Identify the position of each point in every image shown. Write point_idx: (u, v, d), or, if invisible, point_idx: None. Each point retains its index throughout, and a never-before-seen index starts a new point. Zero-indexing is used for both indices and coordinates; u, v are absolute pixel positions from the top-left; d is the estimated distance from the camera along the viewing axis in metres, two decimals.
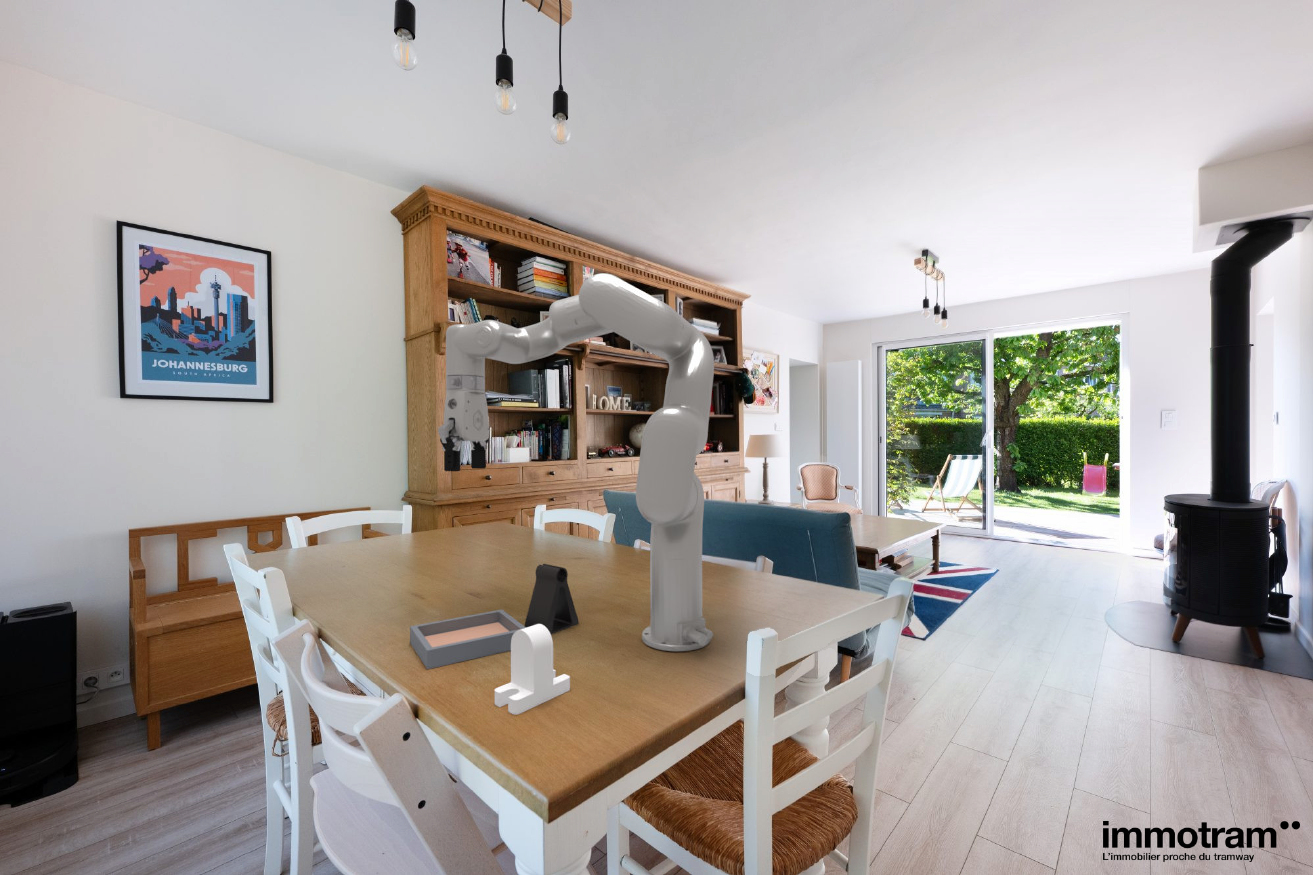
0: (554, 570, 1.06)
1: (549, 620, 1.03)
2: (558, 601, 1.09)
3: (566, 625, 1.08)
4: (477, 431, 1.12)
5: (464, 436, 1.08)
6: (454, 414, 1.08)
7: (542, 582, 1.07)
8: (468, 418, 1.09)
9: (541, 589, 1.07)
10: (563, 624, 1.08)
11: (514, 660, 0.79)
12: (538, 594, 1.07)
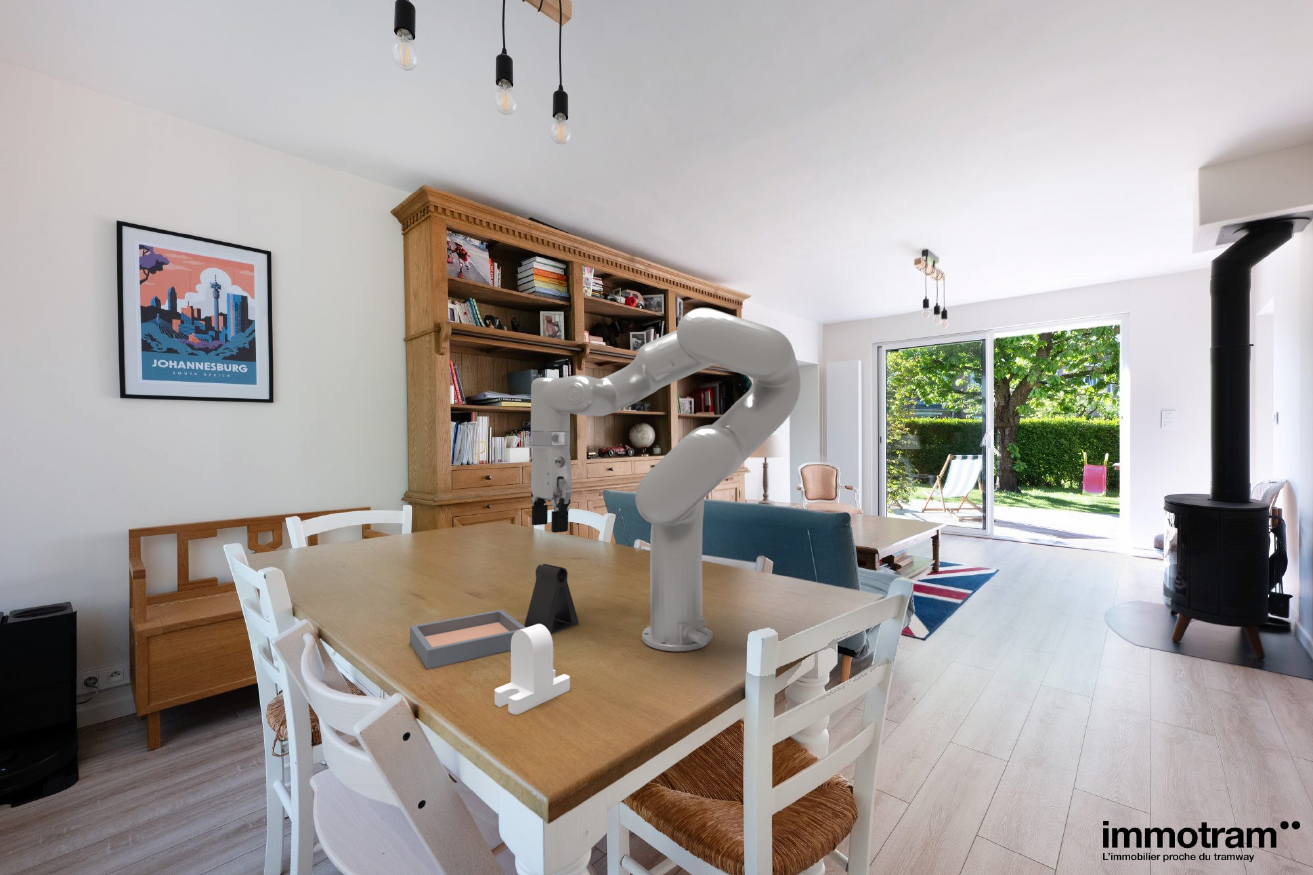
0: (554, 570, 1.06)
1: (549, 620, 1.03)
2: (558, 601, 1.09)
3: (566, 625, 1.08)
4: None
5: (571, 495, 1.06)
6: (563, 473, 1.04)
7: (542, 582, 1.07)
8: None
9: (541, 589, 1.07)
10: (563, 624, 1.08)
11: (514, 660, 0.79)
12: (538, 594, 1.07)
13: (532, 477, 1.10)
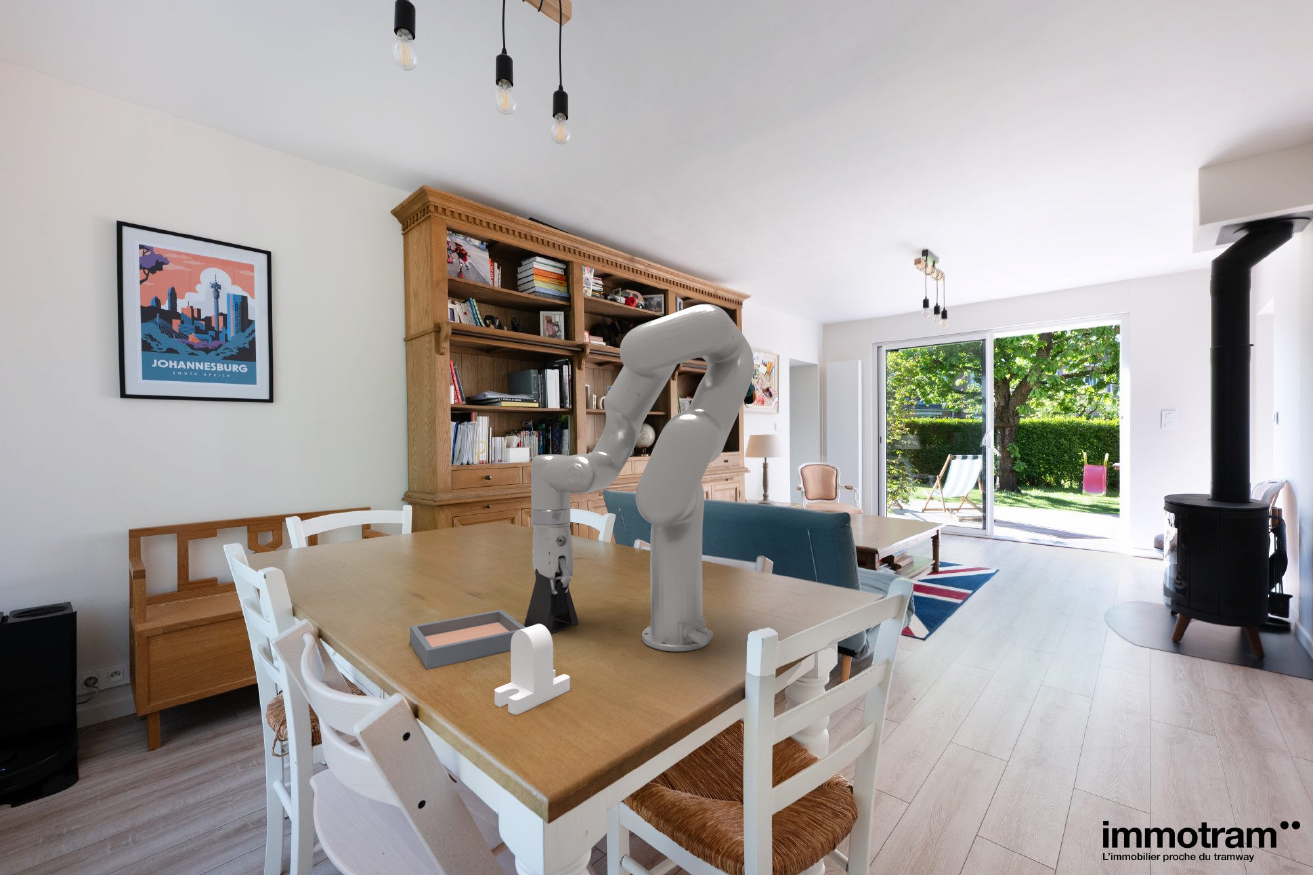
0: None
1: (549, 620, 1.03)
2: None
3: (566, 625, 1.08)
4: None
5: None
6: (564, 551, 1.04)
7: (542, 582, 1.07)
8: None
9: (541, 589, 1.07)
10: (563, 624, 1.08)
11: (514, 660, 0.79)
12: (537, 594, 1.07)
13: (533, 553, 1.09)
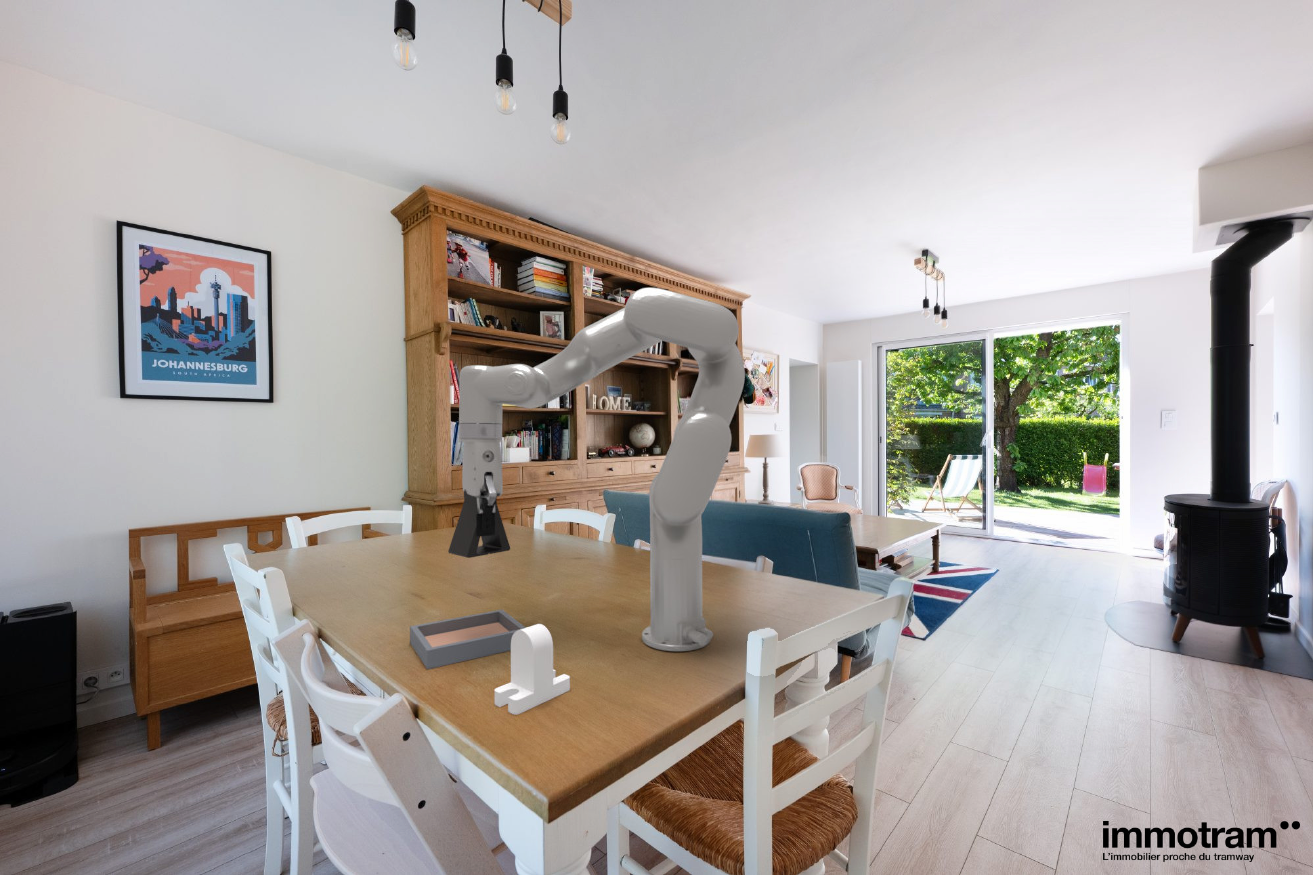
0: None
1: (473, 541, 0.96)
2: None
3: (495, 550, 1.00)
4: None
5: (501, 492, 0.98)
6: (491, 468, 0.96)
7: (470, 502, 1.00)
8: None
9: (468, 510, 0.99)
10: (493, 549, 1.01)
11: (514, 660, 0.79)
12: (464, 516, 0.99)
13: (463, 473, 1.02)
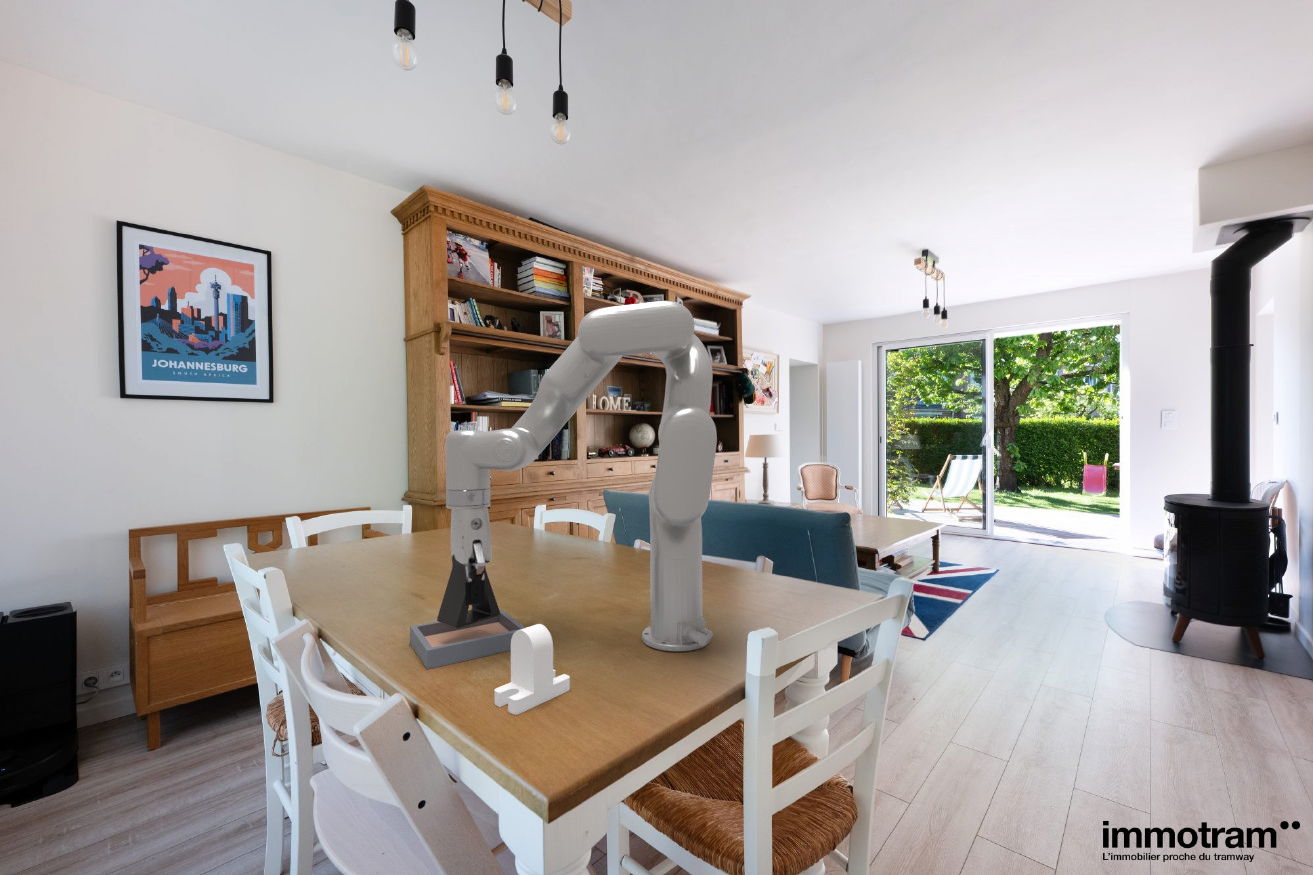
0: None
1: (462, 610, 0.94)
2: None
3: (485, 616, 0.99)
4: None
5: None
6: (480, 535, 0.95)
7: (458, 569, 0.98)
8: None
9: (457, 577, 0.98)
10: (482, 615, 0.99)
11: (514, 660, 0.79)
12: (453, 582, 0.98)
13: (451, 538, 1.00)
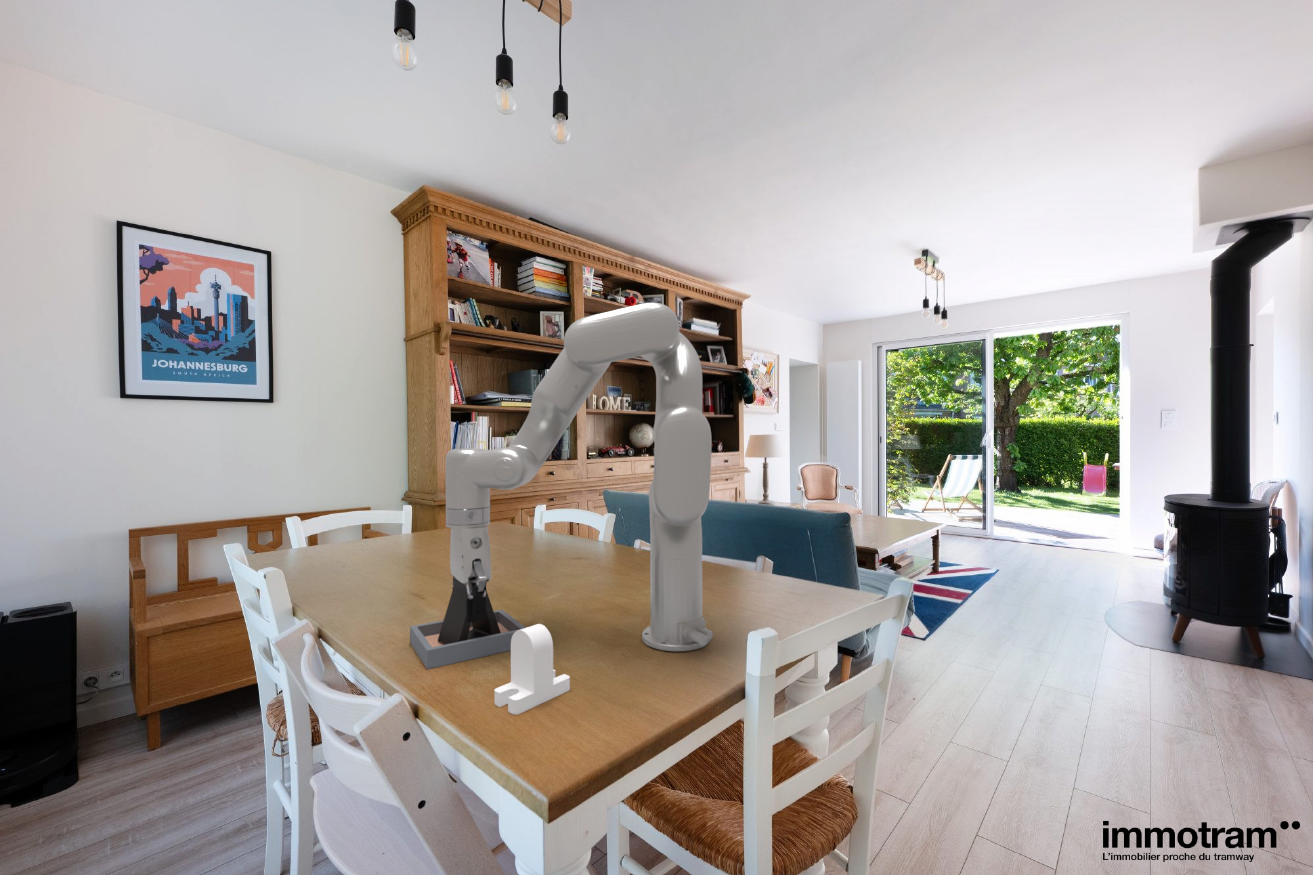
0: None
1: (463, 632, 0.94)
2: None
3: None
4: None
5: (490, 578, 0.96)
6: (480, 554, 0.95)
7: (459, 589, 0.98)
8: None
9: (457, 597, 0.98)
10: (483, 636, 0.99)
11: (514, 660, 0.79)
12: (454, 603, 0.98)
13: (450, 556, 1.00)
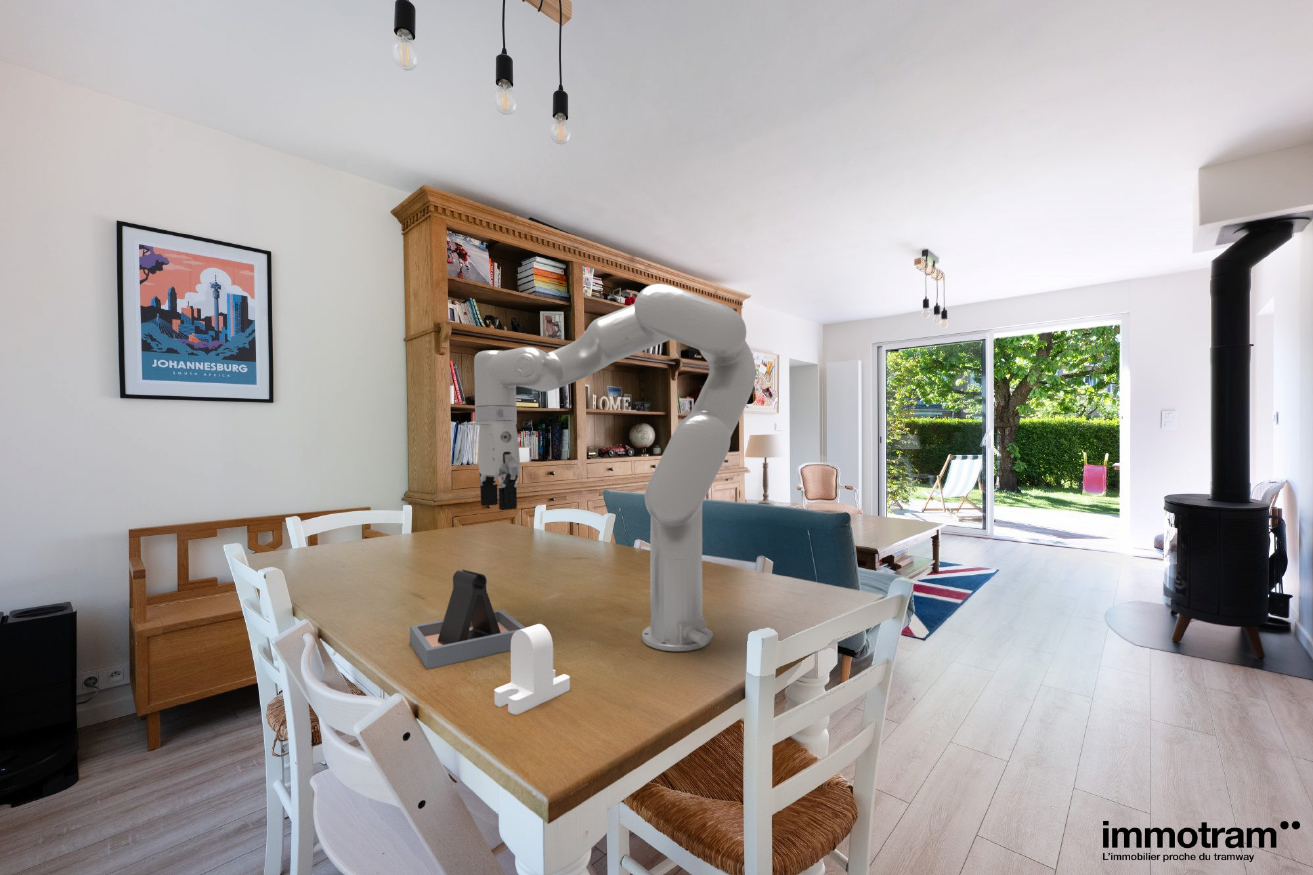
0: (471, 577, 0.97)
1: (463, 632, 0.94)
2: (478, 610, 1.00)
3: None
4: None
5: (519, 471, 1.02)
6: (509, 448, 1.00)
7: (459, 589, 0.98)
8: None
9: (457, 597, 0.98)
10: (483, 636, 0.99)
11: (514, 660, 0.79)
12: (454, 603, 0.98)
13: (479, 455, 1.06)
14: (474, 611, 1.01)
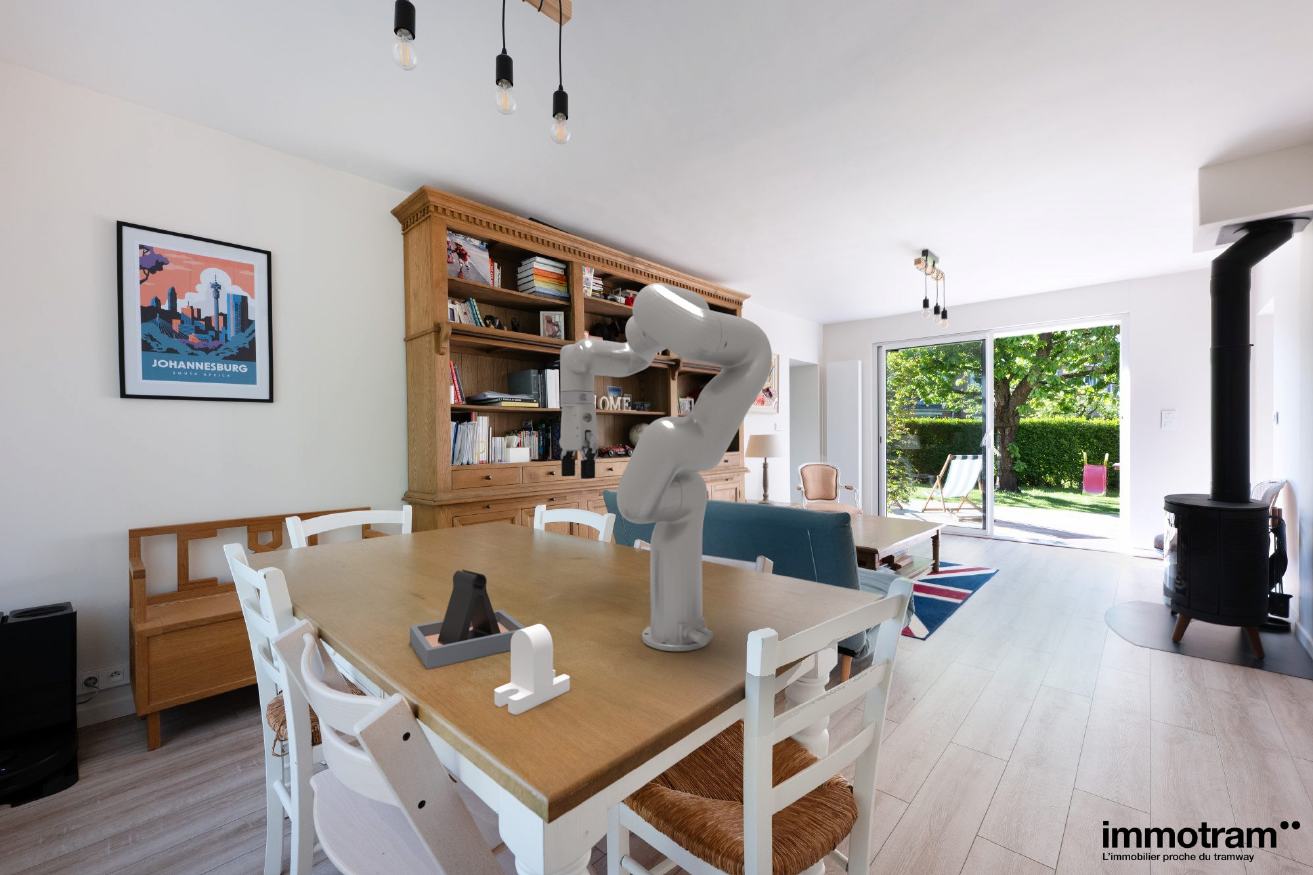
0: (471, 577, 0.97)
1: (463, 632, 0.94)
2: (478, 610, 1.00)
3: None
4: None
5: (597, 447, 1.20)
6: (590, 427, 1.19)
7: (459, 589, 0.98)
8: None
9: (457, 597, 0.98)
10: (483, 636, 0.99)
11: (514, 660, 0.79)
12: (454, 603, 0.98)
13: (562, 433, 1.24)
14: (474, 611, 1.01)
